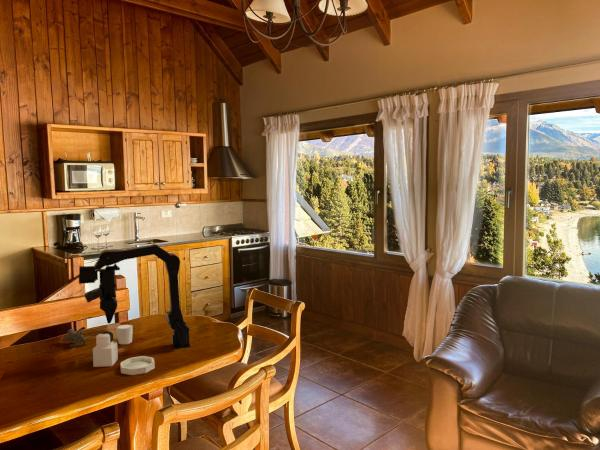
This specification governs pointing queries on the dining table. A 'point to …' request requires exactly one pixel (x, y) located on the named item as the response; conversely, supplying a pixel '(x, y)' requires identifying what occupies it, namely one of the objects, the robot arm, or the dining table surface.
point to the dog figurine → (74, 337)
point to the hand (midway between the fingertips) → (108, 319)
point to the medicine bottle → (105, 350)
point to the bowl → (137, 365)
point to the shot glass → (124, 333)
